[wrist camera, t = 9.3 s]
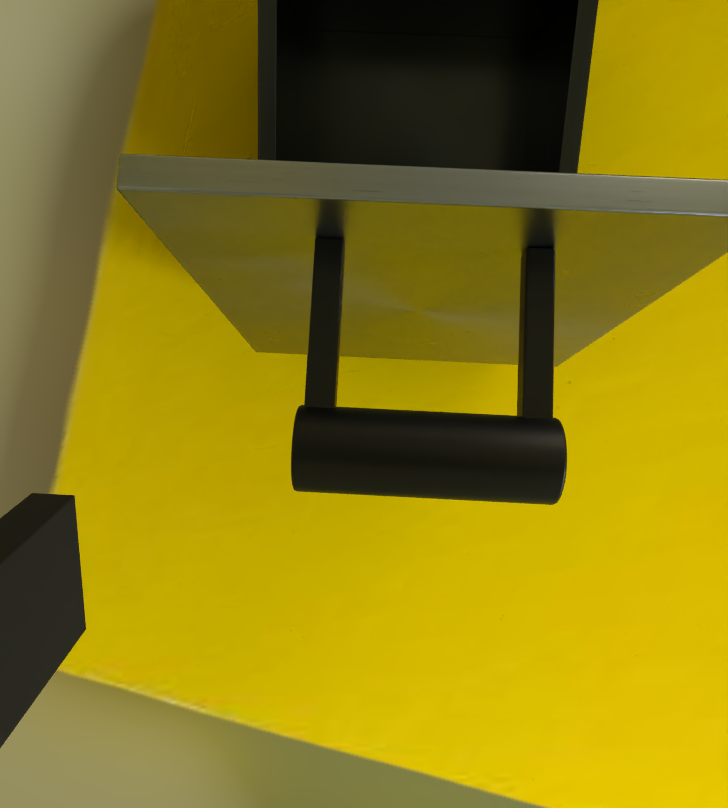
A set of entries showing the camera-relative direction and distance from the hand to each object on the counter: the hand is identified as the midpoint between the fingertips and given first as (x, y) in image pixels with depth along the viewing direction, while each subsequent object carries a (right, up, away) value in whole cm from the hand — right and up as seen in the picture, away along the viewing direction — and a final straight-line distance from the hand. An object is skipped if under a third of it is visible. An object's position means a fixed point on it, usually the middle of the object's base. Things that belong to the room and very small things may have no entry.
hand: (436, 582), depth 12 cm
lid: (+1, +7, +10) cm, 12 cm away
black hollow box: (+1, +16, +25) cm, 30 cm away
